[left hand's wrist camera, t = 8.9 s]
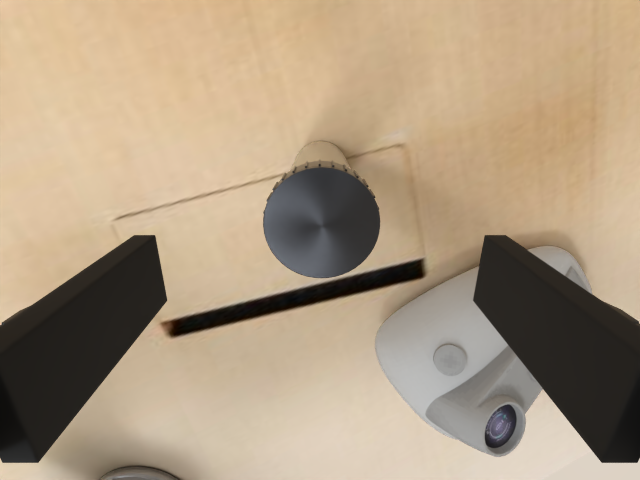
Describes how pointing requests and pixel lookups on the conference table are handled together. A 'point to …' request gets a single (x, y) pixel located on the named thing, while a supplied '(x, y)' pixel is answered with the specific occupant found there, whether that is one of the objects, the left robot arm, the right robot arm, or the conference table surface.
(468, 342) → the projector
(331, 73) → the conference table surface
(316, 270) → the lid
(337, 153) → the silver metal cylinder
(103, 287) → the left robot arm
